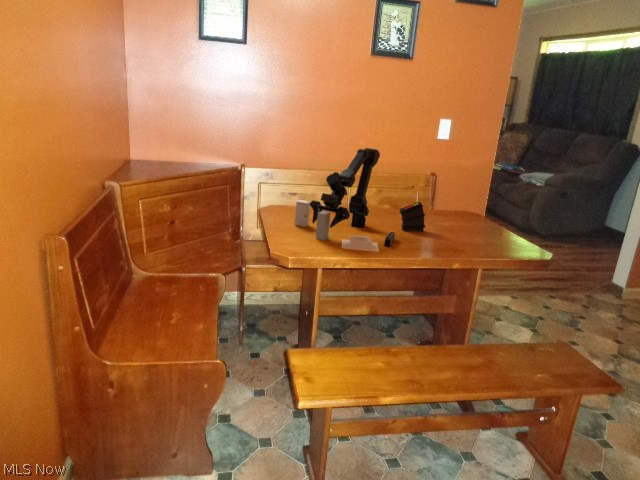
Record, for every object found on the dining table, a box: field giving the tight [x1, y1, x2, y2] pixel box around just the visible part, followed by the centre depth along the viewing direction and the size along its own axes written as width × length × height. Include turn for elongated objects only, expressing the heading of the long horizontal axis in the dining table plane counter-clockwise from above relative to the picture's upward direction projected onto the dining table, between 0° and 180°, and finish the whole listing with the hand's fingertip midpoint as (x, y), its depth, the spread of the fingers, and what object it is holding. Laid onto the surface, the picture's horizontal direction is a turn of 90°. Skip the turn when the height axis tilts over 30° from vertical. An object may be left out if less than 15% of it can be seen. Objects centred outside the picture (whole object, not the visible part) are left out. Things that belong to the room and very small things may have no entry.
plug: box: [315, 210, 331, 241], centre depth 207 cm, size 4×4×13 cm
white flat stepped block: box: [341, 234, 380, 252], centre depth 203 cm, size 16×12×4 cm
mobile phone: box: [383, 231, 396, 248], centre depth 211 cm, size 5×3×15 cm
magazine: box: [399, 201, 426, 233], centre depth 234 cm, size 4×13×15 cm, turn 95°
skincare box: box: [294, 199, 311, 228], centre depth 227 cm, size 6×4×12 cm
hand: (321, 225), depth 205 cm, fingers open, 9 cm apart
